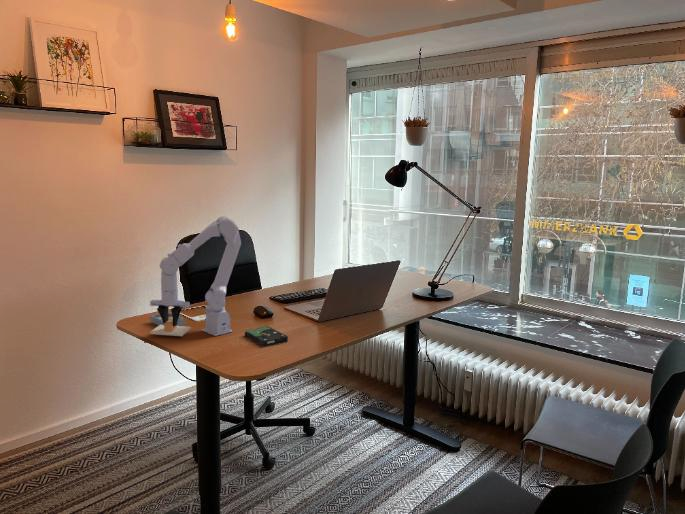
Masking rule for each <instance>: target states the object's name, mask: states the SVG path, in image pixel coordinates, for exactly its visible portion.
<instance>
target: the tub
mask: <svg viewBox="0 0 685 514" xmlns="http://www.w3.org/2000/svg"><path fill="white" fill-rule="evenodd" d="M168 320H173V318H172V312H169V311H168ZM149 322H152V323H154V324H156V325H158V326H159V325H164V324H163V320H162V318H161V316H160V314H159V313H157V314H152V315H149ZM152 323H151V324H152ZM154 324H153V325H154ZM156 325H155V326H156ZM182 325H184V326H185V318H184V317H183V316H181V315H179V318H178V322H177V326H182ZM158 326H157V327H158Z"/></svg>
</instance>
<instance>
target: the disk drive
mask: <svg viewBox="0 0 685 514" xmlns="http://www.w3.org/2000/svg"><path fill="white" fill-rule="evenodd" d="M244 337H246V338H247V337H248V338H247V339H249V338H250V340H251V341H253V342H254V341H255V343H256V342H257V344H258V343H259V344H258V345H260V346H261V345H262V346H261V347H265V346H266V347H270V345H271V346H274V344H275V345H279V343H280V344H285V343H288V340H289V335H286V334H284V333H282V332H280V331H279V330H276V329H274V328H273V327H271V326H268V325H267V326H263V327H262V326H261V327H255V328H253V329H249V330H247V329H246V330H245V332H244ZM284 342H285V343H284ZM266 347H265V348H266Z"/></svg>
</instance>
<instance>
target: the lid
mask: <svg viewBox="0 0 685 514" xmlns="http://www.w3.org/2000/svg"><path fill="white" fill-rule="evenodd" d="M191 329H192V327H191V326H186V325H184V326H177V325H176V326H173V320H168V321H167V322H166V323H164V325H159V326H156V327H155V328H154V329H152V330H150V332H149V335H158V336H171V337H172V336H175V337H183V336H184V335H186V334H187V333H188V332H189V331H190V330H191Z"/></svg>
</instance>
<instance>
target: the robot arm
mask: <svg viewBox="0 0 685 514" xmlns="http://www.w3.org/2000/svg"><path fill="white" fill-rule="evenodd" d="M221 235H222V236H223V238H224V239H223V240H224V241H225V242H226V245H225V249H224V251H223V255H222V258H221V260H220V263H219V267H218V269H217V273H216V274H215V278H214V280H213V283H212V284H211V286H210V288H209V290H208V291H207V292H206V293H205V296H204V299H205V302H206V303H207V305H205V306H206V308H205V314H206V320H205V328H201V329H200V331H201V332H204V333H207V334H210V335H212V336H217V337H218V336H221V335H225V334H228V333H232V332H233V330H232V329H231V316H230V313H229V312H227V311H226V306H225V305H226V295H227V286H228V284H229V280H230V277H231V275H232V272H233V268H234V266H235V263H236V259H237V258H238V254H239V251H240V250H241V249H240V248H241V246H242V240H241V235H240V231H239V226H238V225H237V223H236V222H235V221H234V219H233V220H232V219H231V218H229V217H227V216H220V217H217V219H216V220H214V221H212V222H211V223H210V224H209V225H207V226H206V227H205V228H204V229H203V230H202V231H201V232H200V233H199V234H198V235H196V236H195V237H194V238H193V239H192V240H191V241H190V242H189V243H183V242H182V244H181V243H180V244H178V245H177V248H176V249H175V250H173V251H172V252H171V253H168V254H167V256H165V257H163V258H162V259H161V261H160V262H159V269H161V272H160V273H161V274H160V276H161V278H160V284H161V285H160V286H161V287H160V291H161V299H151V300H150V301H149V303H150V304H149V306H151V307H154V306H156V307H157V308H156V311H157V312H158V314H160V316H161V318H162V320H163V324H164V323H166V322H167V321H168V312H169V308H170V307H171V309H170V311H171V312H170V313H172V318H173V326H176V325H177V322H178V318H179V316H181V315H180V313H182V311H181V310H183V309H188V308H191V307H190V306H191V305H190V304H191V303H190V301H185V300H184V301H183V300H179V296H178V295H179V293H178V290H179V289H178V277H177V276H178V275H177V272H178V271H179V267H182V266H183V265H184V264H185V263H186V262H187V261H189V259H191V258H192V257H193V256H194V255H195V250H197V249H198V248H199V247H201V246H202V245H204V244H205V243H206V242H207V241H208V240H210V239H211V238H213V237H221Z"/></svg>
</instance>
